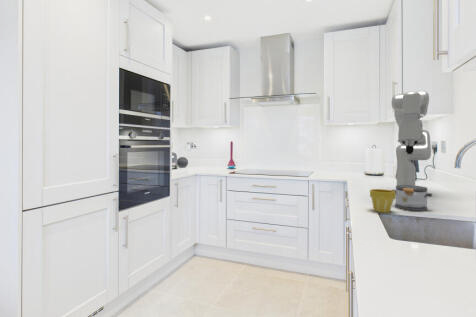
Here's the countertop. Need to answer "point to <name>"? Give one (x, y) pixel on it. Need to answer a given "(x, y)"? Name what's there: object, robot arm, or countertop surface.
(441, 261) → the countertop surface
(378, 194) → the plant pot
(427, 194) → the cooker
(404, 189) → the lid
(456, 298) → the countertop surface
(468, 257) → the countertop surface
